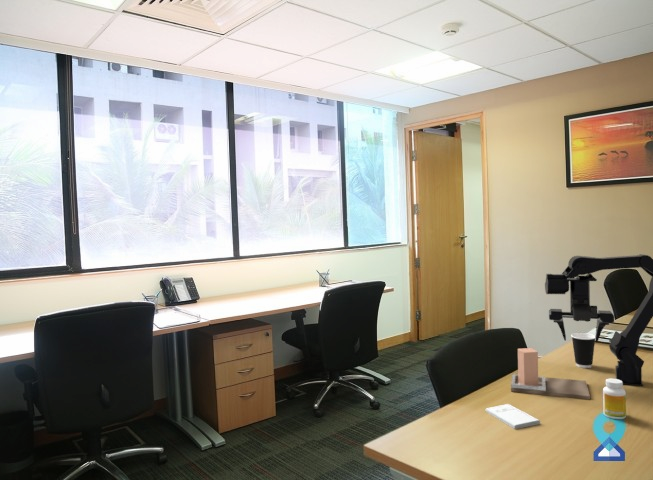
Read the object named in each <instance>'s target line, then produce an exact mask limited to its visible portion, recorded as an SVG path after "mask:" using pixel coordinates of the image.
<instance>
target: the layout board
mask: <svg viewBox="0 0 653 480" xmlns="http://www.w3.org/2000/svg"><path fill="white" fill-rule="evenodd" d="M511 375H512V376H511V381H510V391H511V392H512V393H520V394H521V393H522V394H530V395H541V396H551V397H562V398H570V399H572V398H573V399H579V400H580V399H581V400H582V399H583V400H591V395H590V391H589V387H588V384H587V381H586V380H582V379H581V380H579V379H571V378H558V377H545V376H539V375H538V386H536V385H525V384H520V383H519V382H518V374H515V373H513V374H511Z"/></svg>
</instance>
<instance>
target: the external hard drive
mask: <svg viewBox="0 0 653 480" xmlns="http://www.w3.org/2000/svg"><path fill="white" fill-rule="evenodd" d="M485 412H486V413H487V414H489V415H490V414H491V415H490V416H492V417H494V418H495V417H496V418H495V419H497V420H499V421H500V422H502V423H504V424H506V425H507V426H509V427H510V428H511V429H514V430H518V429H523V428H527V427H532V426H537V425H540V424H541V420H539V419H538V418H536V417H534V416H532V415H530V414H528V413H527V412H525V411H523V410H520V409H519V408H517V407H515V406H513V405H511V404H510V403H505V404H501V405H496V406H490V407H487V408H485Z"/></svg>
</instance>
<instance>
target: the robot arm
mask: <svg viewBox="0 0 653 480" xmlns="http://www.w3.org/2000/svg"><path fill="white" fill-rule="evenodd" d="M635 268H641V269H642V270H643V271H644V272H645V273H646V274H647V275H649V276H650V277H651V278H650V281H649V286H648V291H647V293H646V295H645V297H644V298H643V300H642V301H641V303H640V305H639V307H637V309H636V311H635V313H634V314H633V316H632V318H631V319H630V321H629V323H628V324H627V326H626V328H625V329H624V330H623V331H621V332H618V331H614V333H613V335H612V338H611V339H610V340H608V342H609V345H608V346H609V351H610V352H611V353H612V354H613V355H614V356H615V357H616V359H617V365H615V379H618V380H621V381H622V382H623V385H628V386H629V385H630V386H638V387H639V386H641V387H643V386H644V384H643V382H642V381H643V379H642V374H643V373H642V372H643V369H642V368H643V365H644V363H645V360H643V359H642V357H640V356H639V355H637V353H638V350H639V349H638V348H639V345H640V339H641V336H642V334H644V331H645V330H646V329H647V327H648V325H649V324H650V322H651V320H652V319H653V258H652V257H651V256H650V255H648V254H643V253H640V254H637V255H623V256H622V255H621V256H620V255H619V256H608V257H607V256H605V257H596V256H585V255H584V256H583V255H574V256H572V257H571V258H570V259H569V261H568V265H567V267H566V268H565V269H564V270H563V272H561V273H560V274H559V273H556V274H554V273H546V274H545V282H544V291H545V294H546V295H566V294H567V293H569V296H570V297H569V298H570V299H569V303H570V305H569V307H570V311H563V310H562V308H549V310H548V319H549V321H553V323H555V324H556V323H557V325H558V327H559V329H560V331H561V334H562V337H563V340H564V341H566V340H567V336H566V329H565V324H564V318H567V319H568V318H569V319H573V321H575V322H579V321H580V322H582V321H583V322H591V321H592V319H593V320H596V328H595V335H594V336H595V343H598V342H599V339H600V336H601V334H602V332H603V330H604V328H605V326H609V325H610V324H611V323H615V316H614V314H613V312H612V311H611V310H598V305H591V295H590V292H591V291H590V289H591V286H590V284H591V283H590V282H597V280H598V279H597V278H596V277H594V276H593V275H592V274H593V273H596V272H599V271H603V270H618V269H619V270H622V269H635Z"/></svg>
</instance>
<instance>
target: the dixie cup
mask: <svg viewBox="0 0 653 480" xmlns="http://www.w3.org/2000/svg"><path fill="white" fill-rule="evenodd" d="M570 336H571V339H572V346H573V353H574V361H575V364H576V367H578V368H580V369H582V368H583V369H591V368H592V367H593V366H592V365H593V362H594V353H595V344H596V338H595V336H596V335H593V334H591V333H585V332H584V333H581V332H579V333H571V334H570Z"/></svg>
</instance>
